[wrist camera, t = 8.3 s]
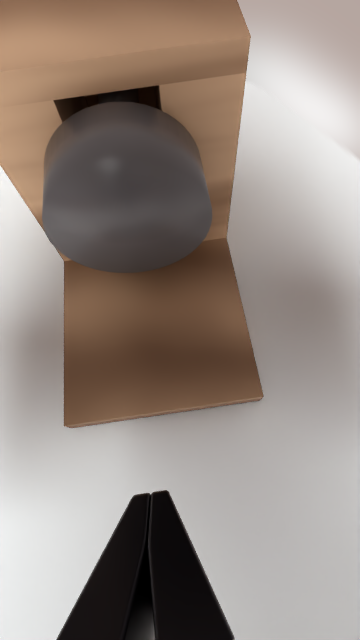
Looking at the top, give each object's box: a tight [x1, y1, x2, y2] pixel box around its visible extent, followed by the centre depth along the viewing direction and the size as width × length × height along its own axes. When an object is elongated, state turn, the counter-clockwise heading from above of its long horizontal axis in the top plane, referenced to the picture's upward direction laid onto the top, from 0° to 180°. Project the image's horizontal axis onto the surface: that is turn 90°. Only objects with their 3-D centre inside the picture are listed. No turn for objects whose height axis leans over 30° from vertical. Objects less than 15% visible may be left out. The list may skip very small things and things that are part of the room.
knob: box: [42, 88, 212, 273], centre depth 14 cm, size 8×6×6 cm
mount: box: [0, 0, 263, 428], centre depth 14 cm, size 16×9×10 cm, turn 8°
